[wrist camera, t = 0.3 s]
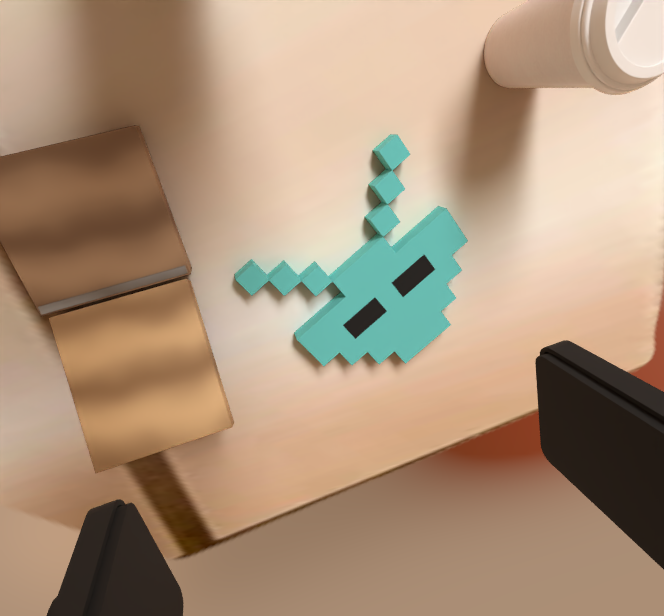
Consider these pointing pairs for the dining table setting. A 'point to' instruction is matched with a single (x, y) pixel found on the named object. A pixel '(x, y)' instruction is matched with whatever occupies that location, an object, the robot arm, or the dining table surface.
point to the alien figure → (378, 281)
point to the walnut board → (87, 220)
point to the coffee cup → (578, 45)
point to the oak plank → (141, 374)
